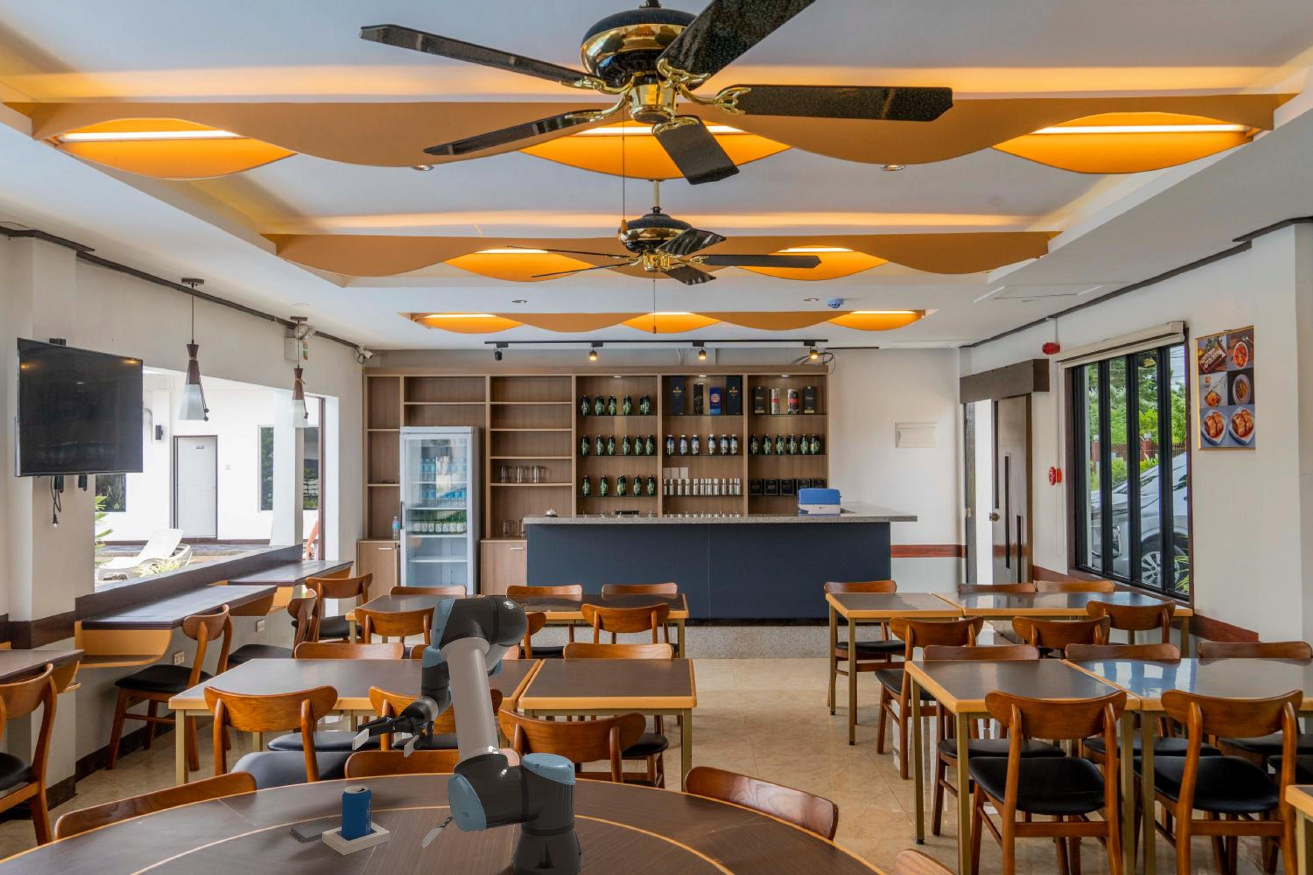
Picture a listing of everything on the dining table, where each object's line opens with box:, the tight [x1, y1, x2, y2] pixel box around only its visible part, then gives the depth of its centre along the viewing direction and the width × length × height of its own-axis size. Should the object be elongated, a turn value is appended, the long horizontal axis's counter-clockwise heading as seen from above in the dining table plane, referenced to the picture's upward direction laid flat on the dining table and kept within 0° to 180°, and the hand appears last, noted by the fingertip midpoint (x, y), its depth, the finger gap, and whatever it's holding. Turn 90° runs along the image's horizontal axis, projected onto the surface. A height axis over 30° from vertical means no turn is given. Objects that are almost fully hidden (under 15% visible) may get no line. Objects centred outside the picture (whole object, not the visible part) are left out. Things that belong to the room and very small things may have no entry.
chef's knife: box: [421, 816, 453, 849], centre depth 203 cm, size 19×1×3 cm
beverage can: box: [341, 783, 372, 841], centre depth 199 cm, size 6×6×12 cm
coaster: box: [290, 817, 342, 843], centre depth 204 cm, size 9×9×1 cm
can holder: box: [321, 820, 391, 856], centre depth 198 cm, size 11×11×2 cm
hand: (379, 747), depth 207 cm, fingers open, 13 cm apart
